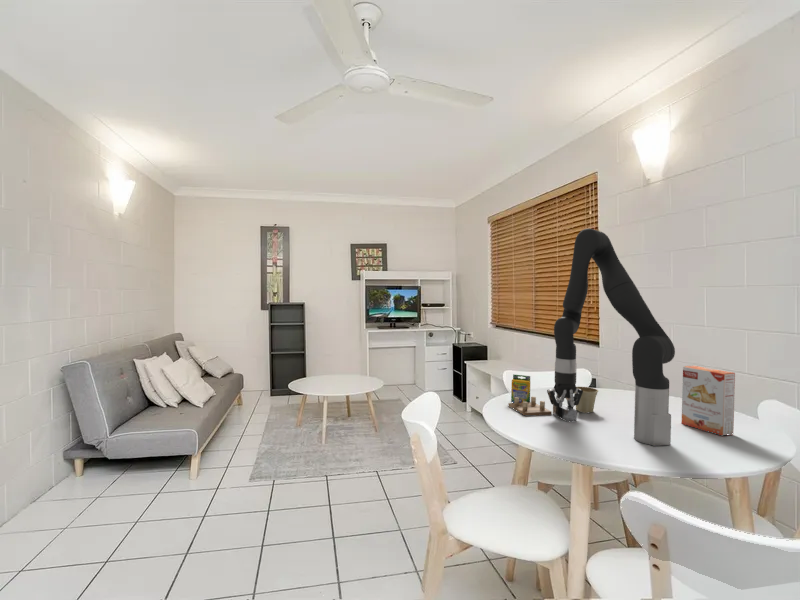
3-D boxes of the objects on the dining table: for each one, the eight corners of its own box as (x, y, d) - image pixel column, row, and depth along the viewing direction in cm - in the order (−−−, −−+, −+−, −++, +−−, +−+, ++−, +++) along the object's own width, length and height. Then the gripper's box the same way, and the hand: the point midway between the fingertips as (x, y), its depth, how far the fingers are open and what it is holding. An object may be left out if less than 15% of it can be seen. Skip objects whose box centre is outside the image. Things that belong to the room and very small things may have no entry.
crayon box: (510, 403, 179) (511, 375, 178) (512, 401, 181) (512, 374, 181) (528, 405, 175) (529, 377, 175) (530, 403, 178) (530, 375, 178)
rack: (551, 414, 162) (551, 403, 162) (524, 416, 160) (524, 404, 160) (533, 405, 176) (533, 394, 176) (508, 406, 174) (508, 395, 174)
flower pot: (592, 408, 172) (593, 386, 172) (601, 414, 163) (602, 392, 163) (568, 407, 173) (569, 386, 173) (576, 413, 164) (576, 391, 163)
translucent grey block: (576, 421, 154) (576, 410, 154) (567, 421, 153) (568, 410, 153) (561, 413, 164) (561, 403, 164) (552, 414, 163) (553, 403, 163)
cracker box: (680, 424, 152) (681, 365, 152) (691, 422, 154) (693, 365, 154) (722, 437, 139) (723, 373, 139) (734, 435, 141) (736, 372, 141)
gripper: (553, 372, 153) (552, 420, 154) (588, 372, 156) (587, 418, 156) (542, 369, 161) (541, 414, 161) (576, 368, 163) (575, 413, 164)
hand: (564, 416), depth 159 cm, fingers closed on translucent grey block, 3 cm apart
